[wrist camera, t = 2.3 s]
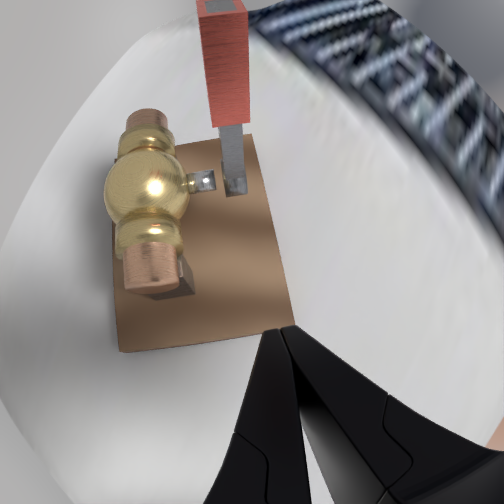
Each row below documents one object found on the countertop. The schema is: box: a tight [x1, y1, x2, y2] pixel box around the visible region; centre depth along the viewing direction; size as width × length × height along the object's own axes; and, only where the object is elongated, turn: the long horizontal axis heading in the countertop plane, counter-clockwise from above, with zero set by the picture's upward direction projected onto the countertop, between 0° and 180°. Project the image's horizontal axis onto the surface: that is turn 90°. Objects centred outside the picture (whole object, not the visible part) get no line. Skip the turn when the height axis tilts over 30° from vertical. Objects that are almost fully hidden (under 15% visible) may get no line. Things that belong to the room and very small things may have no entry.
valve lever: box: [196, 0, 250, 198], centre depth 14 cm, size 2×2×11 cm
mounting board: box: [112, 134, 295, 353], centre depth 23 cm, size 16×12×1 cm
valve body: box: [104, 109, 217, 301], centre depth 19 cm, size 11×6×8 cm, turn 10°
